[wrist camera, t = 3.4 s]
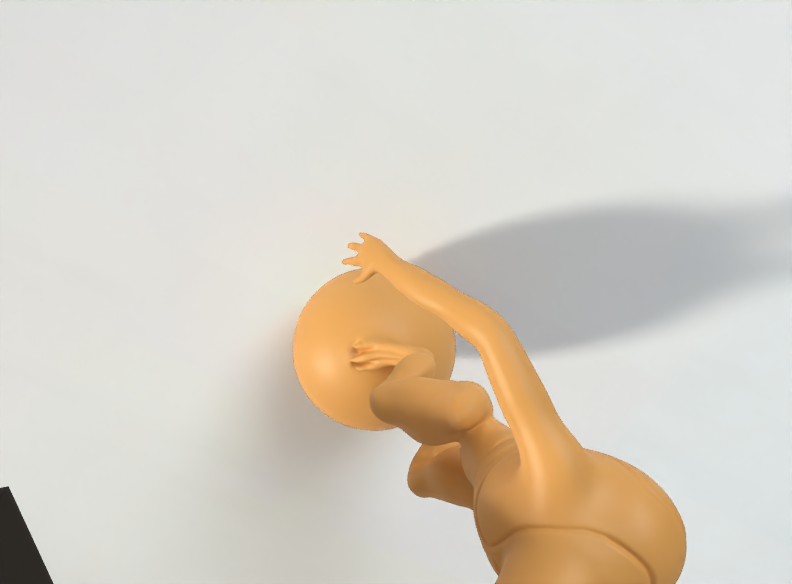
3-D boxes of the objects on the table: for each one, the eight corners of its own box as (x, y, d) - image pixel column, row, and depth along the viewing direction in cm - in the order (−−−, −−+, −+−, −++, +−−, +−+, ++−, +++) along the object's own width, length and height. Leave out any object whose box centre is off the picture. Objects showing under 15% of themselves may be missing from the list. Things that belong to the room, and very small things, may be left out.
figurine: (237, 208, 18) (41, 501, 7) (457, 115, 18) (633, 267, 6) (365, 462, 21) (376, 964, 10) (558, 388, 20) (805, 828, 9)
